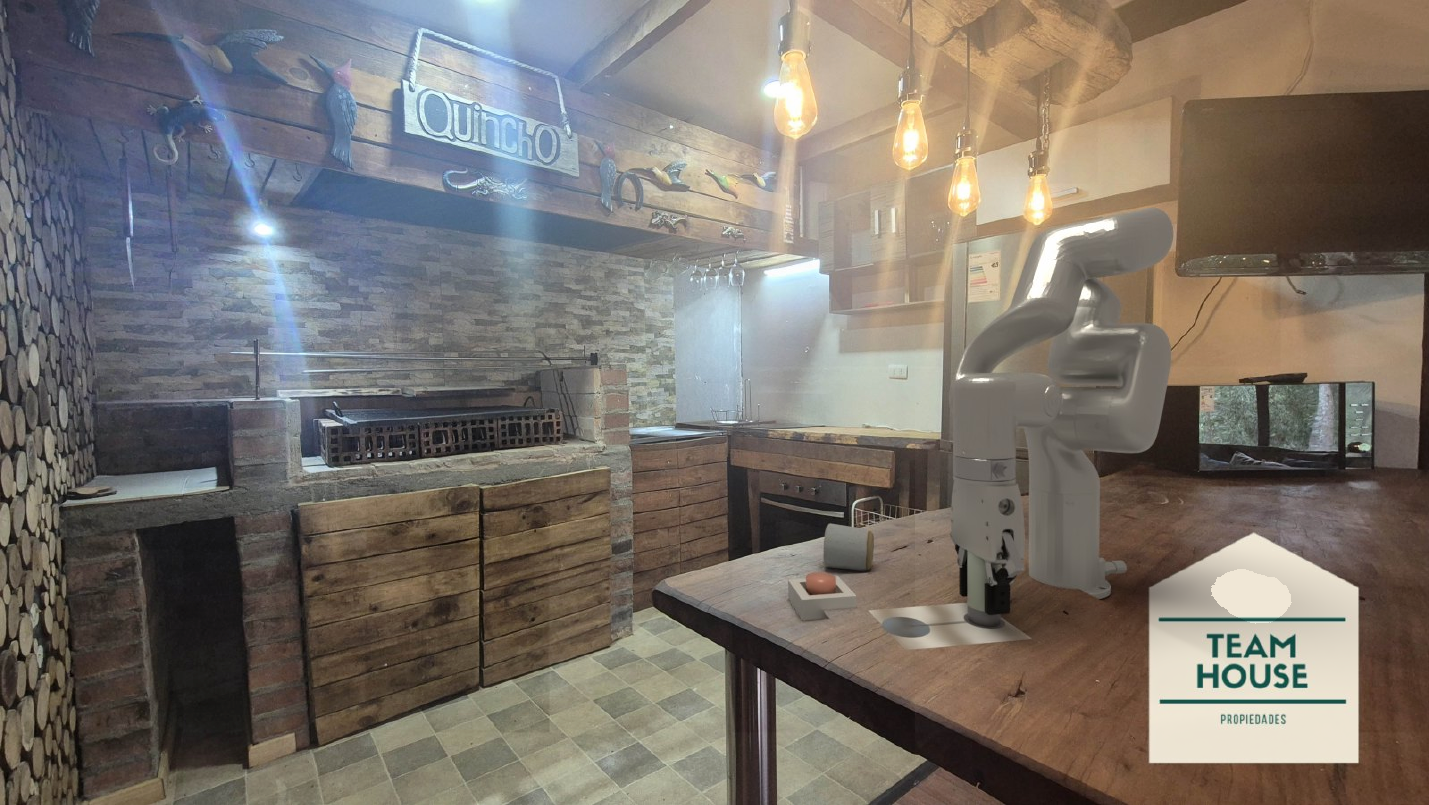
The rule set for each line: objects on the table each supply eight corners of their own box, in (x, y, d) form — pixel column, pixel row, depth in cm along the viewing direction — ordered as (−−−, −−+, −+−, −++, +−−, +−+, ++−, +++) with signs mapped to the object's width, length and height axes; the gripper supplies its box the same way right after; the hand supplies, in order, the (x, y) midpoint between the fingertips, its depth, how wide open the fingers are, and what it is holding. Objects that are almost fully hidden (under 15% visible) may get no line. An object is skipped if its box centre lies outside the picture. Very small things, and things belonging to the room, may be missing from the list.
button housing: (838, 594, 89) (837, 576, 89) (856, 616, 81) (856, 595, 81) (788, 598, 88) (788, 579, 88) (802, 620, 80) (802, 600, 80)
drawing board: (980, 608, 83) (980, 599, 83) (1041, 651, 70) (1041, 640, 70) (861, 617, 81) (861, 608, 81) (902, 664, 68) (902, 653, 68)
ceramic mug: (871, 577, 96) (870, 532, 96) (822, 572, 99) (822, 529, 99) (876, 558, 106) (875, 518, 106) (831, 555, 109) (831, 515, 109)
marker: (988, 612, 78) (988, 534, 78) (1007, 625, 74) (1007, 542, 74) (961, 615, 78) (961, 536, 77) (978, 628, 74) (978, 544, 73)
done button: (830, 584, 87) (830, 571, 87) (840, 595, 83) (840, 581, 82) (802, 586, 86) (802, 573, 86) (810, 597, 82) (810, 584, 82)
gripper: (1056, 480, 67) (1055, 630, 68) (973, 458, 84) (973, 579, 85) (996, 483, 66) (996, 635, 67) (925, 460, 83) (925, 582, 84)
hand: (983, 602), depth 76 cm, fingers open, 5 cm apart
